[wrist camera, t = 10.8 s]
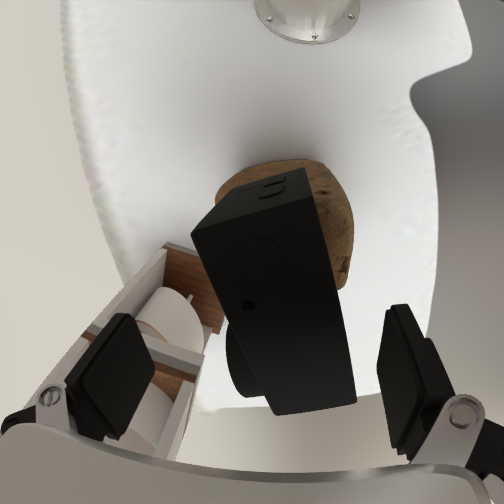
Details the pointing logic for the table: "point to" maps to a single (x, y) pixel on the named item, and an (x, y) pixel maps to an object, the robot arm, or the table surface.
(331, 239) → the brown rounded lump
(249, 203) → the digital camera
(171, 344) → the toilet paper holder
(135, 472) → the robot arm
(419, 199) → the table surface
